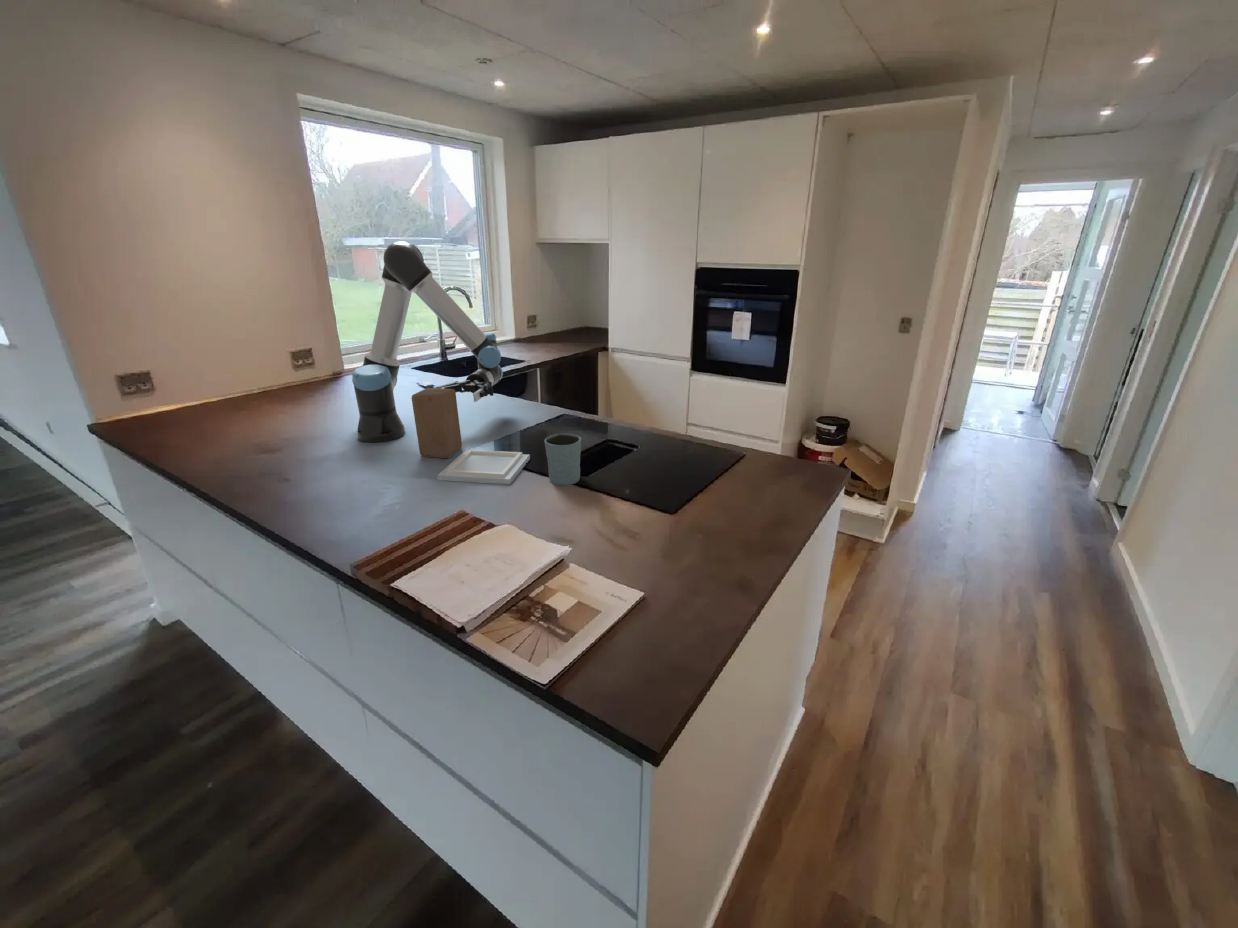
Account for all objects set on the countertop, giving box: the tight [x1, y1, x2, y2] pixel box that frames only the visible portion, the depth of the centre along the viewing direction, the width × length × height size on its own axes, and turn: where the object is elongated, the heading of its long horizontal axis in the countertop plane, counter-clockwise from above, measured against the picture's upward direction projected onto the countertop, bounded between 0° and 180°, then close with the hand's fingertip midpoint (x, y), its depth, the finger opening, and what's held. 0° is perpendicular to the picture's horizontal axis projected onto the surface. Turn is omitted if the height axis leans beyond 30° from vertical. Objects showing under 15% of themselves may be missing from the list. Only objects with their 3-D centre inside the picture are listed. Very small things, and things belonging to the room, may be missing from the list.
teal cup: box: [544, 433, 582, 486], centre depth 151 cm, size 10×10×12 cm
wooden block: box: [411, 387, 463, 459], centre depth 169 cm, size 10×10×20 cm
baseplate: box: [437, 449, 531, 485], centre depth 159 cm, size 19×21×2 cm
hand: (454, 397), depth 176 cm, fingers open, 13 cm apart
